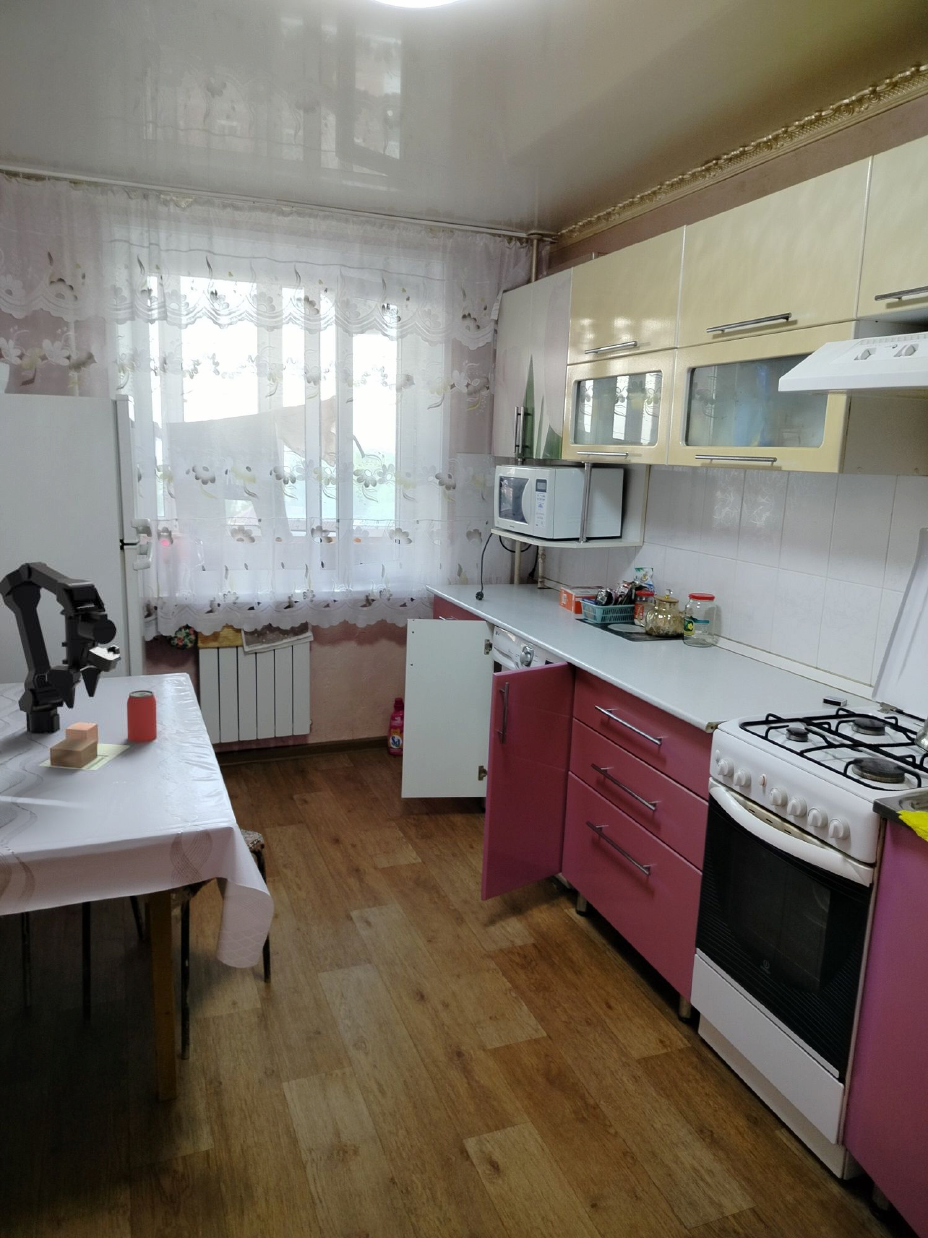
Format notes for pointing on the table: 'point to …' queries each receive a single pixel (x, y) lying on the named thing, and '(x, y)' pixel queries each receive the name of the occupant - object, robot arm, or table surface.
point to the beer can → (141, 716)
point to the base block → (73, 753)
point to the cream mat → (103, 753)
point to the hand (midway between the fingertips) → (81, 702)
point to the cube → (83, 731)
